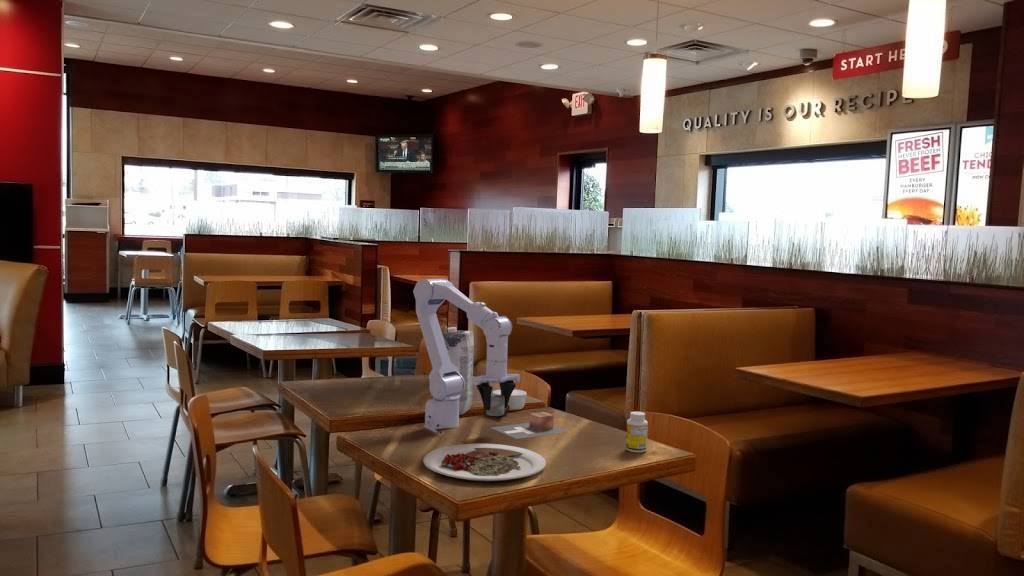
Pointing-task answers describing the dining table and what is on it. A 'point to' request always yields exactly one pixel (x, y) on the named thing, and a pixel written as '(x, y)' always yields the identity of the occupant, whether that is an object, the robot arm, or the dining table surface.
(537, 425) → the terracotta block
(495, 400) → the slate cylinder
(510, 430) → the board
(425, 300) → the robot arm
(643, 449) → the supplement bottle
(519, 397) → the ramekin
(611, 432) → the dining table surface
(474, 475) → the plated food
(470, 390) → the juice carton
